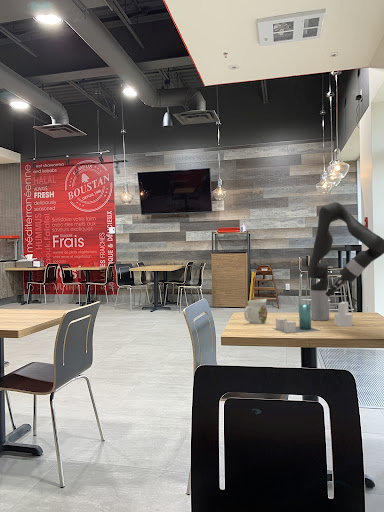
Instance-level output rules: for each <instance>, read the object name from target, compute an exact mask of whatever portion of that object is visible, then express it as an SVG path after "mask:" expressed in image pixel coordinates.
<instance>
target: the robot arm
mask: <svg viewBox="0 0 384 512" xmlns="http://www.w3.org/2000/svg"><path fill="white" fill-rule="evenodd" d="M338 220H341V221H342V222H344V223H345V224H346V227H347V231H348V233H350V235H351V236H352V237H354V238H355V239H356V240H358V241H359V242H360V243H362V244H363V245H364V246H366V247H367V249H366V250H361V251H359V252H358V253H356V255H355V256H354V257H353V258H352V259H351V260H349V261H348V262H347V264H346V265H344V267H343V268H341V269H340V271H339V275H341V277H338V278H337V279H336V280H335V282H334V283H332V286H331V285H330V288H329V289H328V284H329V282H328V281H329V279H328V278H329V267H328V264H327V262H320V261H321V260H322V259H323V258H325V257H326V256H327V255H328V254H329V253H330V252H331V249H332V247H333V241H334V239H333V235H332V234H331V232H330V231H329V230H330V229H329V228H330V225H331V223H332V222H336V221H338ZM382 255H384V238H383V237H381V236H380V235H378V234H376V233H375V232H374V231H372V229H369V228H368V227H367V226H366V225H364V224H362V223H361V222H360V221H358V219H356V217H354V216H353V215H352V214H351V212H349V210H347V208H345V206H343V205H342V204H341V203H339V202H338V201H337V202H336V201H334V202H332V203H327V204H324V205H323V206H321V207H320V209H319V212H318V221H317V229H316V236H315V239H314V243H313V250H312V254H311V257H310V261H309V264H308V266H307V267H308V268H307V276H308V278H310V279H320V280H319V281H318V282H316V283H313V284H311V285H310V307H311V321H323V322H324V321H328V320H330V303H329V301H328V297H329V298H330V296H332V295H334V294H335V293H336V292H337V291H338V290H339V289H341V288H343V286H345V285H346V284H347V282H349V283H353V282H354V281H355V280H356V279H357V278H358V277H359V276H360V275H361V274H362V273H363V272H364V270H365V269H366V268H367V267H368V266H369V265H370V264H371V263H372V262H374V261H375V260H377V259H378V258H380V257H381V256H382Z"/></svg>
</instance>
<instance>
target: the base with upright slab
mask: <svg viewBox="0 0 384 512" xmlns="http://www.w3.org/2000/svg"><path fill="white" fill-rule="evenodd" d="M337 309H338V311H337V312H334V326H337V325H339V326H338V327H352V326H353V313H350V312H349V301H340V302H338V304H337Z"/></svg>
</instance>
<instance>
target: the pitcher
mask: <svg viewBox="0 0 384 512" xmlns="http://www.w3.org/2000/svg"><path fill="white" fill-rule="evenodd" d="M267 300H268V299H267V298H260V299H252V300H251V299H250V300H247V302H246V303H247V306H246V307H245V309H244V311H243V312H244V313H243V314H244V319H245V320H246V322H249V324H251V325H252V324H254V325H259V324H265V323H266V321H267V318H268V309H267V308H268V307H267V306H266V305H267Z"/></svg>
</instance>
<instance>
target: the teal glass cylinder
mask: <svg viewBox="0 0 384 512" xmlns="http://www.w3.org/2000/svg"><path fill="white" fill-rule="evenodd" d="M298 320H299V324H298V326H299V327H300V329H302V330H309V329H311V328H312V319H311V303H310V304H309V303H301V304H298Z"/></svg>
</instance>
